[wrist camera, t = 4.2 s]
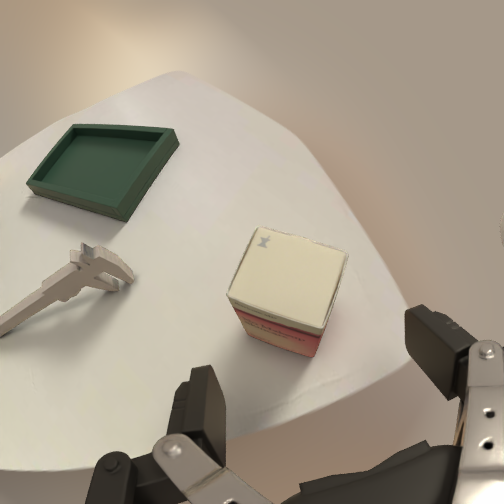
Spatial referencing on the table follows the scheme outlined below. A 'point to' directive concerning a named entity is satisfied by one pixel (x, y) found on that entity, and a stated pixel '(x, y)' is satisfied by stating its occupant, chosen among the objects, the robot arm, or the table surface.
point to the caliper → (71, 283)
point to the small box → (286, 289)
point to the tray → (104, 167)
